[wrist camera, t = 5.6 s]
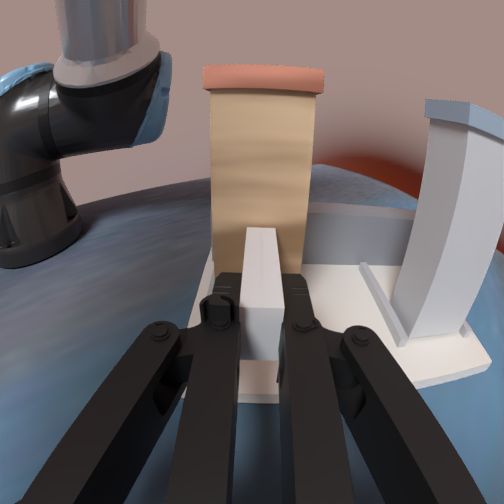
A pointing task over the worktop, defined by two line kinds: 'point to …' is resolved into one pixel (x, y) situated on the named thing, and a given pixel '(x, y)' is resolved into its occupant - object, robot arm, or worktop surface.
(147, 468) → the worktop surface
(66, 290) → the worktop surface
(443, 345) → the switch base
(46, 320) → the worktop surface
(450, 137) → the grey tall block
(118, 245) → the worktop surface
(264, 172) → the beige wooden tall block
